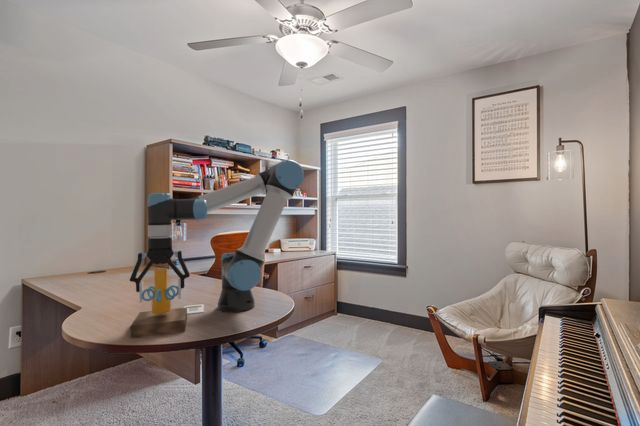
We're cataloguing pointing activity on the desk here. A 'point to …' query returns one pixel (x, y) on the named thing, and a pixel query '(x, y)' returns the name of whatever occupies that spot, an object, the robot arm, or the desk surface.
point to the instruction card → (195, 309)
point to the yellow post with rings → (160, 292)
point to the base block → (159, 323)
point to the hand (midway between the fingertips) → (161, 299)
